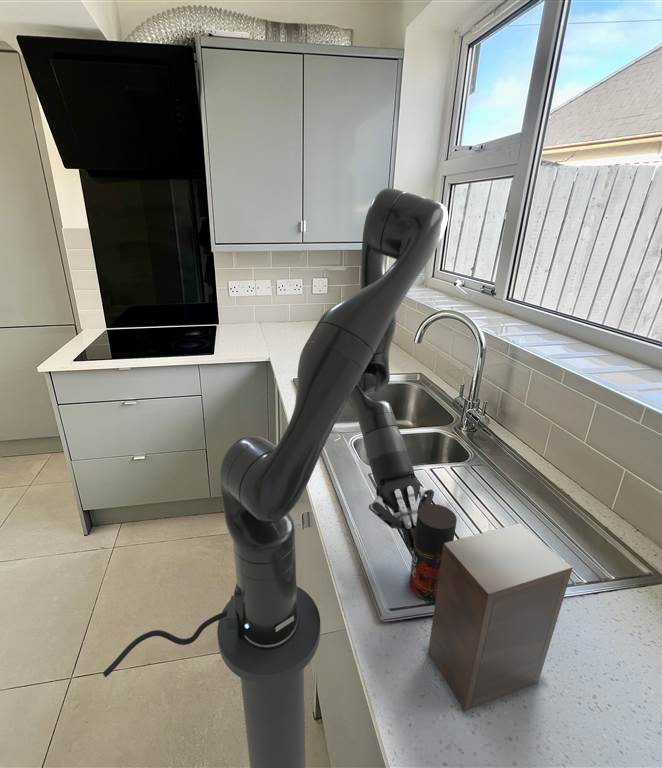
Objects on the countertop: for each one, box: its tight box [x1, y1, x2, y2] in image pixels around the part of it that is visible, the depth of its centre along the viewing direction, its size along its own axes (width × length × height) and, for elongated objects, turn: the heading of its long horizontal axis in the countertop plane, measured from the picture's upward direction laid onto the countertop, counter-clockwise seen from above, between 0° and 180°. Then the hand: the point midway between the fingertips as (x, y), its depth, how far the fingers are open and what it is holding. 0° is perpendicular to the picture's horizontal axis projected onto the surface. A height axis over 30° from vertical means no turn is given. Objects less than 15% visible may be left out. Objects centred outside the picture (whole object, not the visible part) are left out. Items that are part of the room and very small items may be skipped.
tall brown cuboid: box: [427, 522, 573, 712], centre depth 53 cm, size 8×12×20 cm
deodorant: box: [409, 503, 458, 602], centre depth 67 cm, size 6×6×15 cm
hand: (417, 550), depth 71 cm, fingers closed
